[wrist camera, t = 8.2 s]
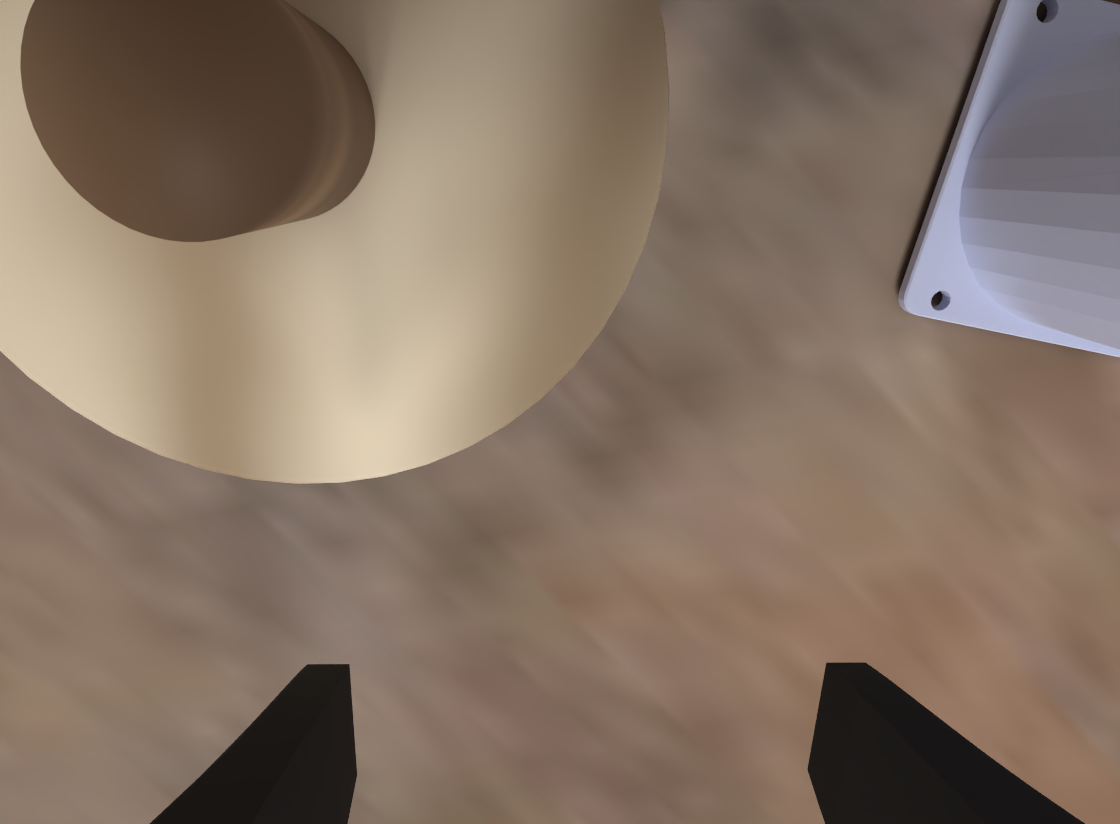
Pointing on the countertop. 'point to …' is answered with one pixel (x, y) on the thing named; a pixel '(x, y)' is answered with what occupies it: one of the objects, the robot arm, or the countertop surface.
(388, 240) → the lid
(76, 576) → the countertop surface
